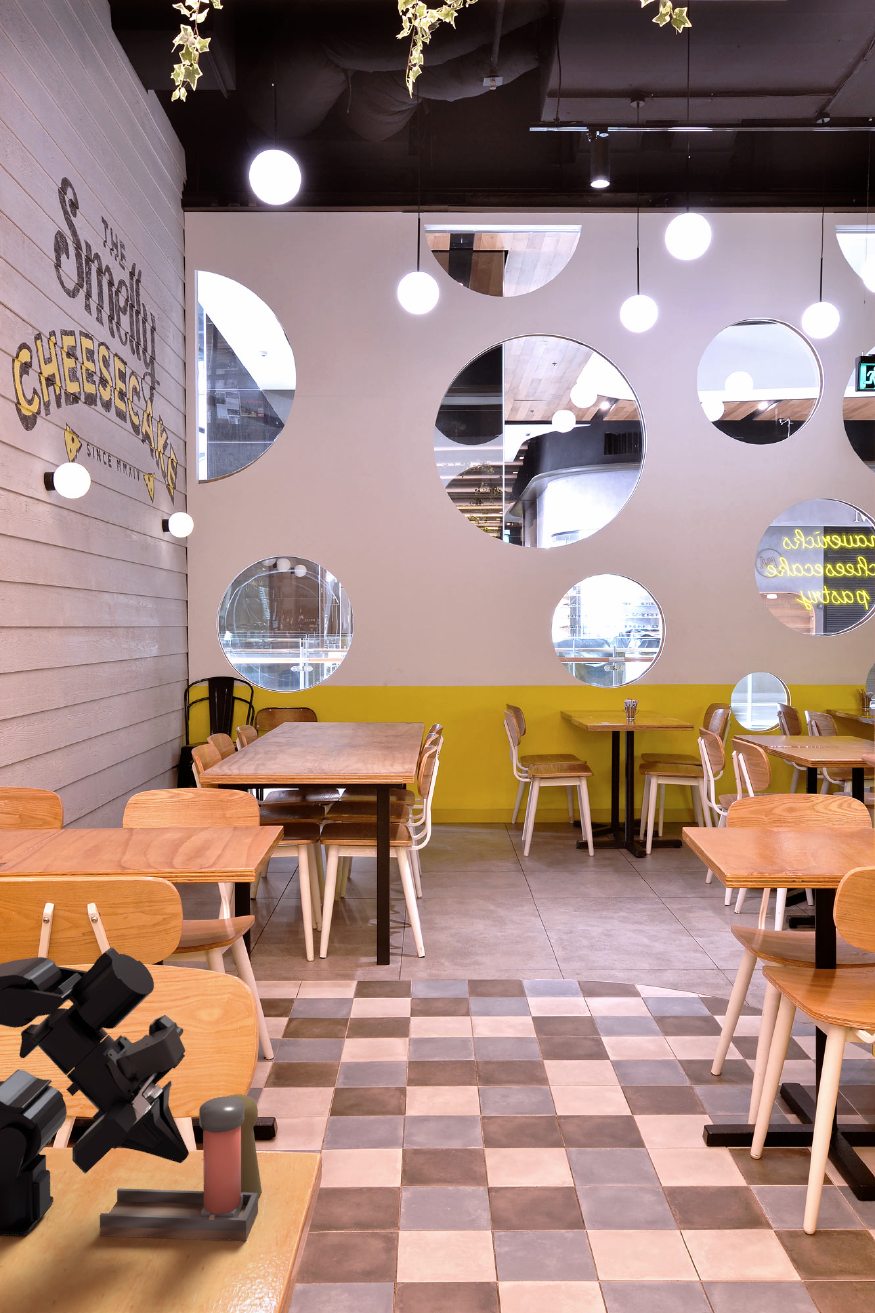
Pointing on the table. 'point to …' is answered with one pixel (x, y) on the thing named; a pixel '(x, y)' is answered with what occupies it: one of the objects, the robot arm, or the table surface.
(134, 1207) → the track
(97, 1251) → the table surface
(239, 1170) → the plug
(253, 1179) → the olive rounded upright piece
